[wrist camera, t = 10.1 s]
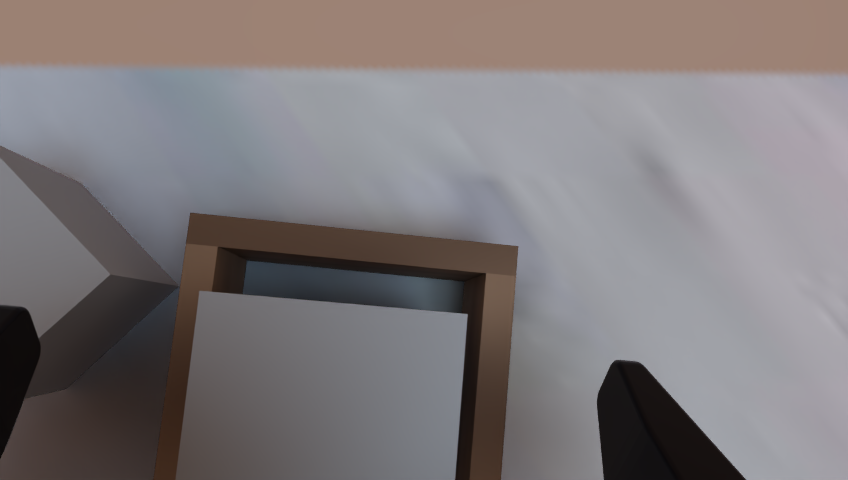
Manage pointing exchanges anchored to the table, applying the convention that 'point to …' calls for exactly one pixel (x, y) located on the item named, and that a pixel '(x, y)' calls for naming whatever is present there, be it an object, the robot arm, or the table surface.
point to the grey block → (69, 270)
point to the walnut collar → (369, 252)
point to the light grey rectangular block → (321, 391)
